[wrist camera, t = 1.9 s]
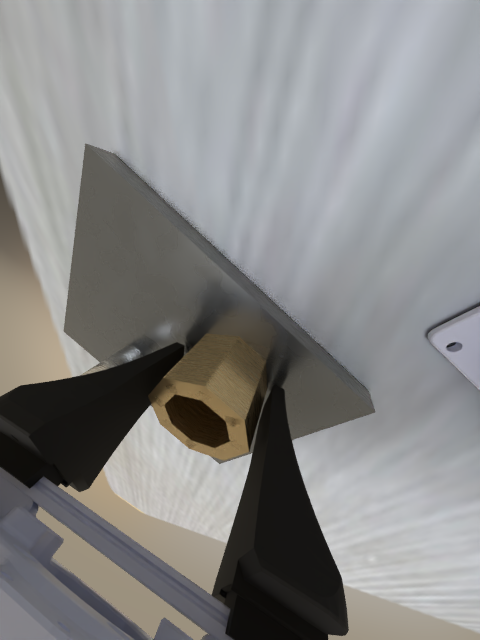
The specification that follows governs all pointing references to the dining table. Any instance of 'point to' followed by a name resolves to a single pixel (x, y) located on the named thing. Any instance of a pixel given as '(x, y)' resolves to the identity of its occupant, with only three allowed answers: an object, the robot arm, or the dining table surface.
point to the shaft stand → (185, 298)
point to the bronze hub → (213, 396)
